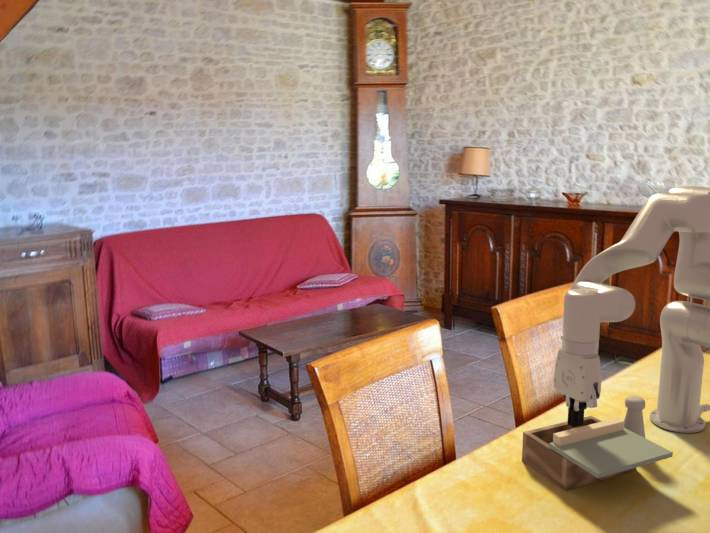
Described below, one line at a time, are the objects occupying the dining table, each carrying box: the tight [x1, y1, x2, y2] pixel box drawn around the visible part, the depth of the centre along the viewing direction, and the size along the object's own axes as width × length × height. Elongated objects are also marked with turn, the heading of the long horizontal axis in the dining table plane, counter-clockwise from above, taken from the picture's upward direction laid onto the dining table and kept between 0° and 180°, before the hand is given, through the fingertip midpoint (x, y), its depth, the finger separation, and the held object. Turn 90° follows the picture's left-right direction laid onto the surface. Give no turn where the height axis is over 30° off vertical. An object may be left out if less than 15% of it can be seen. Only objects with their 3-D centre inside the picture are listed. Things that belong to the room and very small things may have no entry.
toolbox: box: [521, 415, 638, 492], centre depth 142 cm, size 20×14×7 cm
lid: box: [549, 417, 673, 478], centre depth 133 cm, size 20×14×3 cm
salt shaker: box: [623, 395, 646, 438], centre depth 148 cm, size 6×6×13 cm
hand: (575, 424), depth 143 cm, fingers closed
